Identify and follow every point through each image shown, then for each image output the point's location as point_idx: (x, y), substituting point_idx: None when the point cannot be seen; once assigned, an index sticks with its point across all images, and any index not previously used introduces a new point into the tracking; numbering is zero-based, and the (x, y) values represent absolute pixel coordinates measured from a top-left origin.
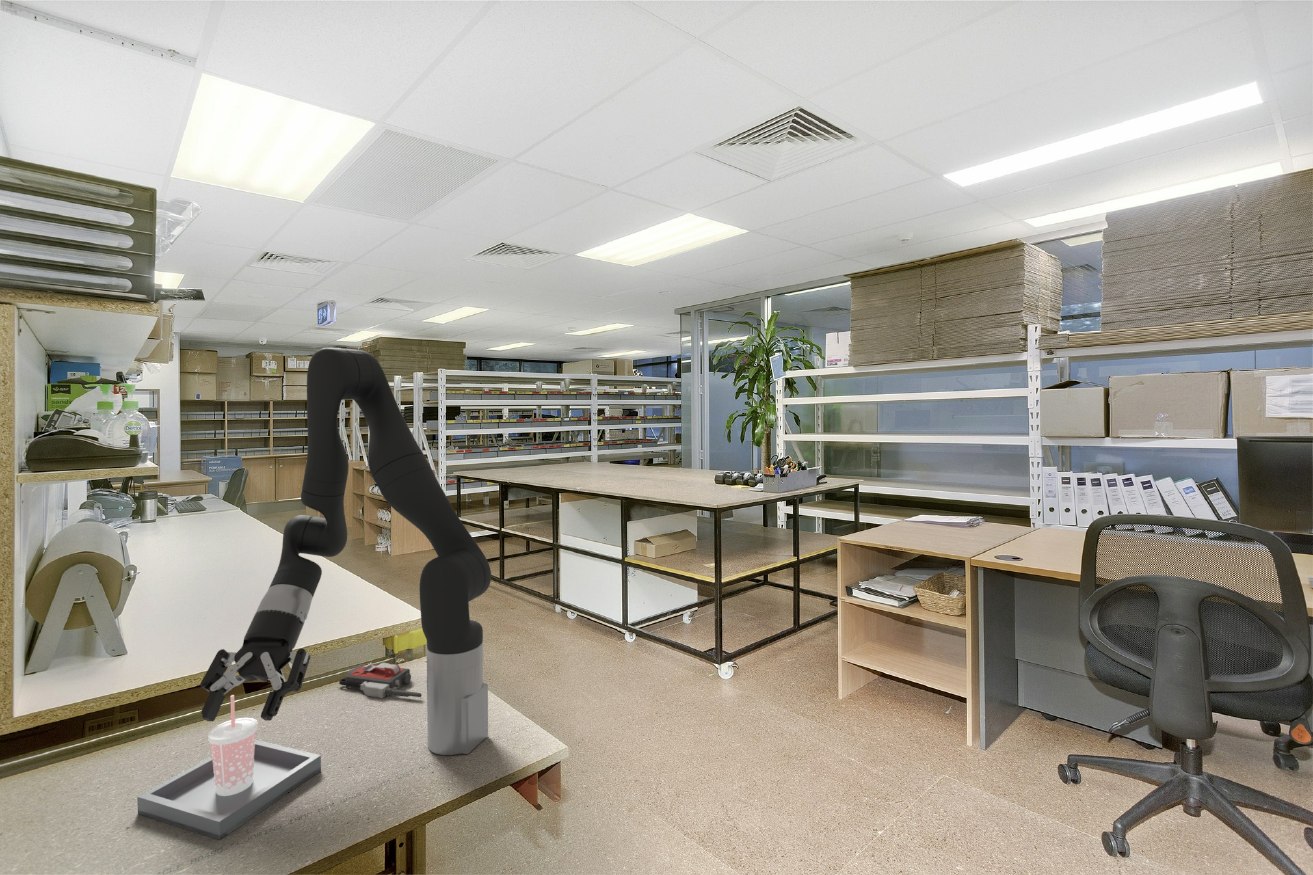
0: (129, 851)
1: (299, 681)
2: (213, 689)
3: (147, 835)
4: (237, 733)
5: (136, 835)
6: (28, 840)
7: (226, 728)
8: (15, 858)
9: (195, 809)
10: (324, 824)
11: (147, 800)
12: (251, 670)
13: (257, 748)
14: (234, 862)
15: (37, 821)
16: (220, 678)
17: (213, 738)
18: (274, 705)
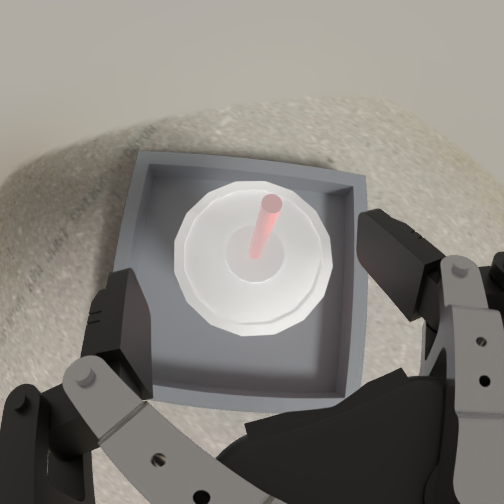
0: (268, 122)
1: (58, 467)
2: (451, 260)
3: (279, 151)
4: (211, 234)
5: (296, 148)
6: (420, 129)
7: (269, 236)
8: (395, 104)
9: (215, 165)
10: (17, 239)
11: (337, 171)
12: (365, 427)
13: (300, 395)
14: (91, 142)
15: (452, 160)
16: (485, 302)
17: (262, 185)
18: (93, 316)
